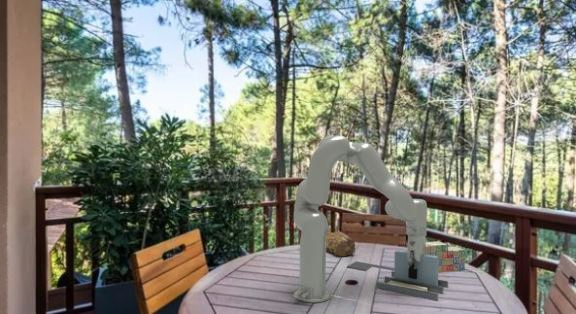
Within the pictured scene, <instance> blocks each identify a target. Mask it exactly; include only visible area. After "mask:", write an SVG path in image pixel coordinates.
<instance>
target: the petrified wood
mask: <svg viewBox="0 0 576 314" xmlns="http://www.w3.org/2000/svg"><path fill="white" fill-rule="evenodd" d="M326 250H328V251H329V252H330V253H331V254H332V253H333V254H334V255H335V256H339V257H346V256H348V255H353V254H354V253H355V252H356V243H355V241H354V240H353V239H352V238H351V237H350V236H348V235H347V234H345V233H344V232H342V231H334V232H327V238H326Z"/></svg>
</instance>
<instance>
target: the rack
mask: <svg viewBox="0 0 576 314" xmlns="http://www.w3.org/2000/svg"><path fill="white" fill-rule="evenodd" d="M390 276H391V277H390ZM390 276H384V282H381V281H377V282H376V288H377V289H379V290H385V291H390V292H394V293H398V294H402V295H407V296H413V297H416V298H421V299H426V300H431V301H435V302H438V301H439V294H440V295H443V294H444V288H447V289H448V288H449V281H448V280H442V279H438V286H434V285H428V284H423V283H418V282H413V281H408V280H403V279H398V278H394V276H395V271H392V270H391V275H390ZM390 281H395V282H400V283H405V284H410V285H415V286H420V287H426V288H428V291H427V292H426V291H421V290H416V289H411V288H406V287H402V286H397V285H392V284H387V283H388V282H390Z"/></svg>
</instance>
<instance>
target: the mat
mask: <svg viewBox="0 0 576 314" xmlns="http://www.w3.org/2000/svg"><path fill="white" fill-rule="evenodd" d="M346 268H348V269H353V270H357V271H364V272H367V271H369V269H371V268H377V269H381V270H382V269H383V270H388V271H391V272H392V271H395V267H389V266H383V265H378V264H373V263H367V262H361V261H354V262H352V263H350V264H348V265H347V266H346Z"/></svg>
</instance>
